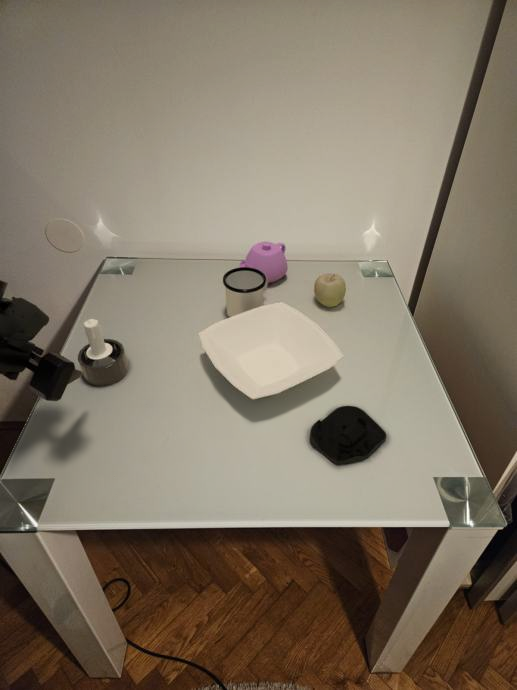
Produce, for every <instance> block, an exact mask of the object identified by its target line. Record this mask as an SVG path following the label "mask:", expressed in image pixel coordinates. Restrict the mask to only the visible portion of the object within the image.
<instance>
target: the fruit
mask: <svg viewBox="0 0 517 690" xmlns="http://www.w3.org/2000/svg"><path fill="white" fill-rule="evenodd" d="M313 288H314V289H313V291H314V295H315V297H316V300H317V301H318V302H319V303H320V304H321V305H322V306H325V307H329V308H332V307H336V306H338V305H339V304H340V303H342V302H343V300H344V299H345V296H346V292H347V291H346V290H347V287H346V282H345V280H344V278H343V277H342V276H341V275H339V274H337V273H323V274H321V275H319V276H318V277H317V278H316V280H315V281H314V285H313Z"/></svg>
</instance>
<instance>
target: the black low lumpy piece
mask: <svg viewBox="0 0 517 690" xmlns="http://www.w3.org/2000/svg"><path fill="white" fill-rule="evenodd" d="M386 440H387V433H386V431H385V430H384V429H383V428H382V427H381V425H379V424H378V423H377V422H376V421H375V420H374V419H373V418H372V417H371V416H370V415H369V414H368V413H367V412H366V411H365V410H363V409H361V408H360V407H358V406H354V405H341V406H339V407H337V408H335V409H334V410H333V411H332V412H330V413H329V414H328V415H326V417H324V418H323V419H322V420H321V419H318V420H317V421H316V422H314V423H313V425H312V426H311V428H310V432H309V444H310V445H311V446H312V448H314V449H315V450H316V451H318V452H319V453H320V454H321V455H322V456H324V457H325V458H326V459H327V460H328V461H330V462H331V463H332V464H334V465H337V466H339V465H347V464H352V463H353V464H354V463H357V462H362V461H363V460H366V459H368V458H370V456H371V455H372V454H373V453H374V452H375V451H376V450H377V449H378V448H380V446H381V445H382V444H383V443H384V442H385V441H386Z"/></svg>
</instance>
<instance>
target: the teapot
mask: <svg viewBox="0 0 517 690" xmlns="http://www.w3.org/2000/svg"><path fill="white" fill-rule="evenodd" d="M285 253H286V245H285V243H283V242H277V243H274V242H271V241H260V242H258V243H254V245H253V246H251V247H250V249H249V251H248V253H247V254H246V256H245V260H242V261H240V262H239V267H250V268H255V269H257V270H260V271H261V272H263V273H264V274H265V276H267V286H269V285H270V283H273V282H276V281H278V280H280V279H282V278H283V277H284V276H285V275H286V274H287V272H288V261H287V258H286V255H285Z"/></svg>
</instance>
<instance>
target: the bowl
mask: <svg viewBox="0 0 517 690" xmlns="http://www.w3.org/2000/svg"><path fill="white" fill-rule="evenodd" d="M198 338H199V341H200V343H201V345H202V348H203V350H204V353H205V354H206V356H207V357H208V358H209V360H210V361H211V363H212V365H213V366H214V368H215V369H216V370H217V371H218V372H219V373H220V375H222V376H223V377H224V378H225V379H226V380H227V382H229V384H231V385H232V386H233V387H234V388H236V389H237V390H238V391H240V392H241V393H242V394H244V395H245V396H246V397H248V398H249V399H250V400H257V399H258V400H259V399H262V398H266V397H270V396H274V395H278V394H280V393H282V392H285V391H287V390H289V389H291V388H293V387H295V386H298V385H299V384H302V383H304V382H306V381H308V380H310V379H312V378H314V377H316V376H318V375H320V374H322V373H324V372H326V371H329V370H331V368H332V367H334V366H335V365H337V363H338V362H340V360H342V359H343V358H344V354H343V353H342V351H341V350H340V349H339V347H338V346H337V344H336V342H335V341H334V340H333V339H332V338H331V337H330V335H328V334H327V333H326V331H324V330H323V329H322V328H321V327H320V326H319V325H318V324H317V323H316V322H315V321H313V320H312V319H311V318H309V317H308V316H307V315H305V314H304V313H302V312H301V311H300V310H298V309H296V308H294V307H293V306H290V305H288V304H287V303H285V302H283V301H280V302H273V303H269V304H263V306H260V307H257V308H254V309H252V310H249V311H246V312H243V313H240V314H238V315H235V316H232V317H228V318H225V319H222V320H220V321H216V322H214V323H213V324H211V325H210V326H208V327H207V328H205V329H203V330H201V331H200V332H198Z"/></svg>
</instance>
